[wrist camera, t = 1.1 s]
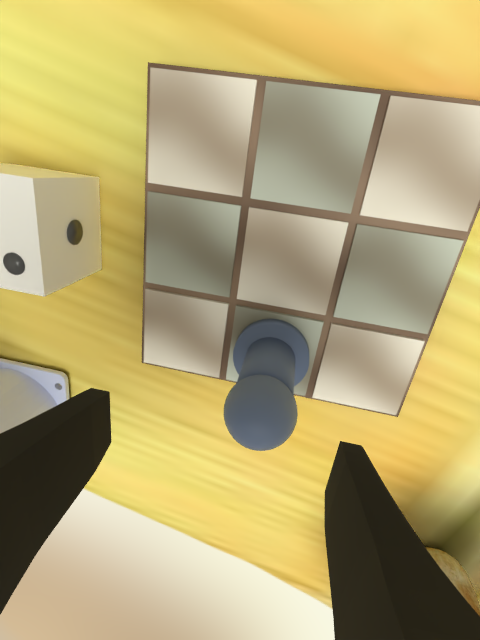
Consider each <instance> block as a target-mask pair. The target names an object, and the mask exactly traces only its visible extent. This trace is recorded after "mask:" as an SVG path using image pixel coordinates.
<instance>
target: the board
mask: <svg viewBox="0 0 480 640" xmlns="http://www.w3.org/2000/svg"><path fill="white" fill-rule="evenodd" d="M479 208H480V101H476V100H467V99H458V98H450V97H441V96H432V95H424V94H415V93H407V92H398V91H389V90H381V89H372V88H363V87H355V86H346V85H337V84H329V83H320V82H312V81H303V80H294V79H286V78H277V77H268V76H260V75H251V74H243V73H234V72H225V71H217V70H208V69H199V68H191V67H182V66H173V65H165V64H156V63H148V86H147V135H146V183H145V232H144V281H143V330H142V363H146V364H150V365H155V366H160V367H164V368H169V369H174V370H179V371H183V372H188V373H193V374H198V375H202V376H207V377H212V378H217V379H221V380H226V381H231V382H235V383H237V380H238V377H239V374H238V373H237V371H236V369H235V366H234V362H233V350H234V347H235V344H236V342H237V339H238V337H239V335H240V334H241V332H242V331H243V330H244V329H245V328H246V327H247V326H248V325H250V324H252V323H253V322H256V321H258V320H262V319H279V320H283V321H285V322H288V323H290V324H292V325H293V326H295V327H296V328H297V329H298V330H299V331H300V332H301V333H302V334H303V336H304V337H305V339H306V341H307V343H308V347H309V367H308V371H307V373H306V375H305V377H304V378H303V379H302V380H301V382H300V383H298V384H297V385H296V386H294V395H297V396H302V397H306V398H311V399H316V400H321V401H325V402H330V403H335V404H340V405H344V406H349V407H354V408H358V409H363V410H368V411H373V412H377V413H382V414H387V415H392V416H396V417H398V415H399V413H400V410H401V407H402V405H403V402H404V400H405V397H406V395H407V392H408V390H409V387H410V384H411V382H412V379H413V377H414V374H415V372H416V369H417V367H418V364H419V361H420V359H421V356H422V354H423V351H424V349H425V346H426V344H427V341H428V338H429V336H430V333H431V331H432V328H433V326H434V323H435V321H436V318H437V315H438V313H439V310H440V308H441V305H442V303H443V300H444V297H445V295H446V292H447V290H448V287H449V285H450V282H451V280H452V277H453V274H454V272H455V269H456V267H457V264H458V262H459V259H460V257H461V254H462V251H463V249H464V246H465V244H466V241H467V239H468V236H469V234H470V231H471V228H472V226H473V223H474V221H475V218H476V216H477V213H478V211H479Z"/></svg>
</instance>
